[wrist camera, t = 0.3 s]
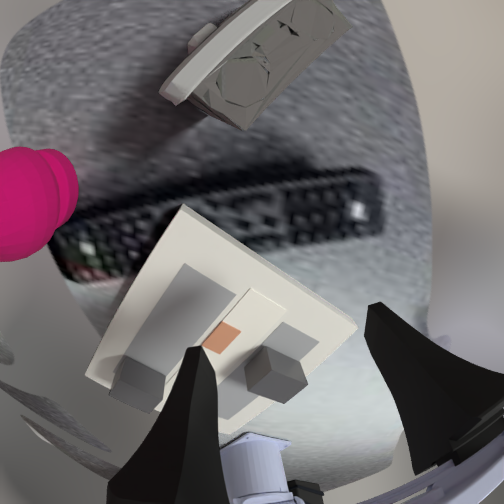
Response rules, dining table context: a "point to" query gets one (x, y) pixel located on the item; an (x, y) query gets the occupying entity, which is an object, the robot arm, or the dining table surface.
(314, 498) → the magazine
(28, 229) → the pepper mill
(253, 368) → the dark grey block
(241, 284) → the switch panel
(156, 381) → the tab
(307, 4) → the electrical switch
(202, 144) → the dining table surface
